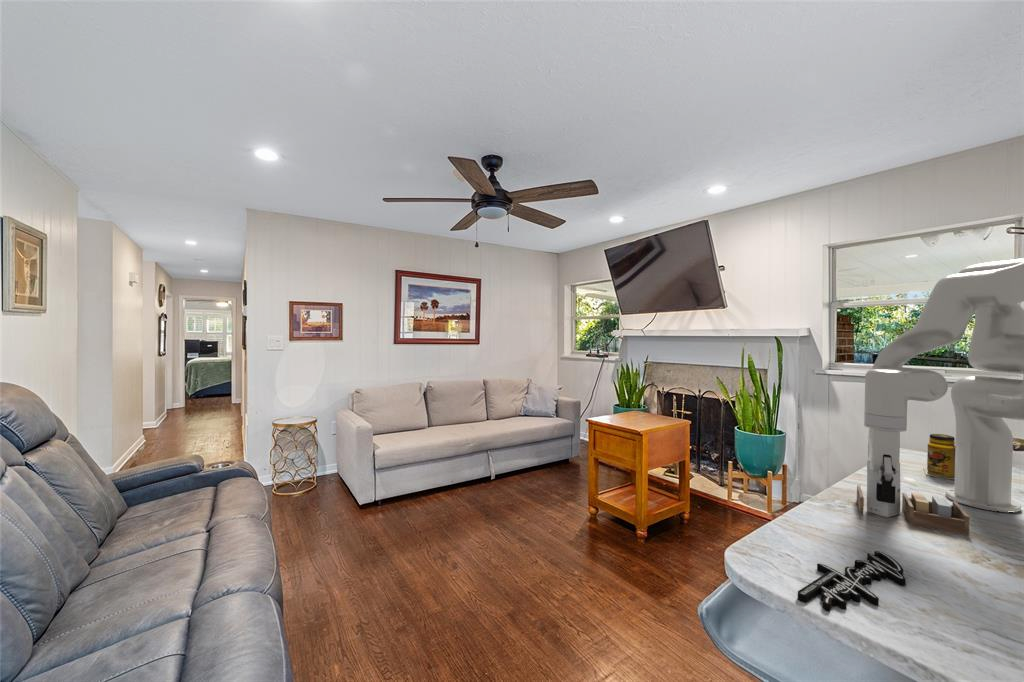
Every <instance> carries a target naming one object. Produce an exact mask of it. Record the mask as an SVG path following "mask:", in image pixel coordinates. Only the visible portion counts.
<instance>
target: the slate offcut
mask: <svg viewBox="0 0 1024 682" xmlns="http://www.w3.org/2000/svg"><path fill="white" fill-rule="evenodd" d="M931 502H932V514H934V515H940V516H945V517H951V506H950V505H951V504H950V503H949V502H948V500H946V498H945V497H941V496H940V497H939V496H934V495H933V496H932V497H931Z"/></svg>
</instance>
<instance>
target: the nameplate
mask: <svg viewBox="0 0 1024 682" xmlns="http://www.w3.org/2000/svg"><path fill="white" fill-rule="evenodd" d="M873 552H874V553H873V554H872V553H869V552H868V553H866V554H867V556H866V560H864V559H855V560H854V566H846V567H844V574H843V573H841V572H840V571H837V570H836V569H834V568H832V567H830V566H827V565H826V564H823V563H817V564H816V571H817V570H818V571H817V572H819V571H820V572H819V573H821V572H822V573H821V574H822V575H821V576H819V577H818V578H816V579H815V580H814V581H811V582H810V583H808V584H807V585H806V586H804V587H802V588H801V589H799V590H798V591H797V600H798V601H799V602H800V603H804V604H805V603H806V604H807V603H809V602H810V601H811V600H813V599H814V598H816V597H817V596H821V597H820V599H821V601H822V609H823V610H824V611H826V612H828V613H831V611H832V607H838V608H839V609H841V610H847V605H848V604H847V603H848V602H849V601H853V602H854V603H856V604H857V603H858V604H859V603H861V602H862V601H861V600H862V599H863V600H865V601H866V602H868V603H869V604H871V605H872V606H876V607H878V606H879V597H878V596H877V595H876V594H875V593H873V592H872V591H871V590H869V589H868V588H867V587H866V586H872V583H873V581H874V582H875V581H876V582H882V581H881V579H882V580H890V581H891V582H893V583H894V584H896V585H898V586H901V587H907V586H906V585H907V584H906V583H907V579H906V577H905V576H904V569H903V567H902V565H901V563H899V562H898V561H897V560H896V559H895V558H893V557H892V556H890V555H889V554H887V553H885V552H883V551H880V550H874V551H873Z"/></svg>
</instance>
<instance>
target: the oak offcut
mask: <svg viewBox="0 0 1024 682" xmlns="http://www.w3.org/2000/svg"><path fill="white" fill-rule="evenodd" d="M910 498H911V503H912V505H913V507H914V511H918V512H923V513H929V502H928V501H929V500H928V499H927V498H926V497H925V494H922V493H916V492H911V496H910Z"/></svg>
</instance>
